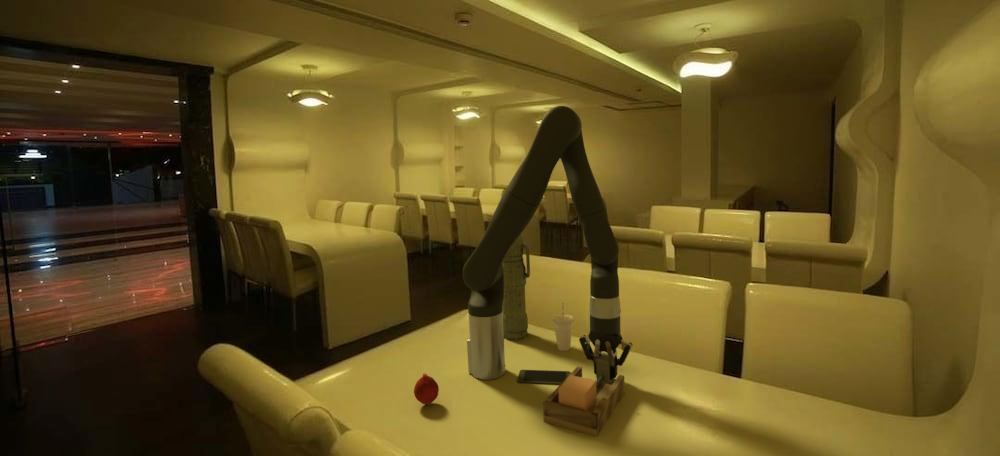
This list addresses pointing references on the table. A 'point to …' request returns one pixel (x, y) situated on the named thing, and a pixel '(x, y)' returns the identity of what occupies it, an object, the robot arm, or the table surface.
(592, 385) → the block
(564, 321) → the smoothie
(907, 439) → the table surface
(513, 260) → the thermos
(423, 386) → the onion
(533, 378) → the cell phone
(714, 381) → the table surface
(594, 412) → the wooden crate
